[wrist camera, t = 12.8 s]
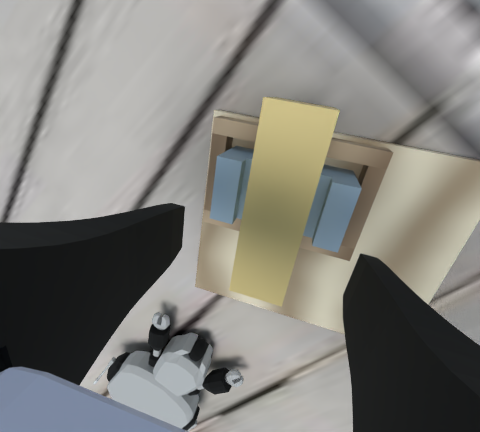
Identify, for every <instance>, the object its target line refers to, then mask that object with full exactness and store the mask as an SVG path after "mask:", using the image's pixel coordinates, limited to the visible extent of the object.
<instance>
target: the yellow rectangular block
mask: <svg viewBox="0 0 480 432" xmlns="http://www.w3.org/2000/svg"><path fill="white" fill-rule="evenodd" d="M339 112H340V110H338V109H336V108H333V107H328V106H322V105H316V104H311V103H305V102H300V101H294V100H288V99H283V98H276V97H263V102H262V107H261V113H260V118H259V124H258V130H257V135H256V141H255V147H254V152H253V158H252V164H251V169H250V175H249V180H248V186H247V192H246V197H245V203H244V209H243V214H242V220H241V225H240V231H239V237H238V242H237V248H236V254H235V259H234V265H233V271H232V276H231V282H230V287H229V290H230V291H233V292H236V293H239V294H243V295H246V296H249V297H252V298H255V299H258V300H262V301H265V302H268V303H271V304H274V305H278V306H281V307H282V304H283V300H284V297H285V294H286V290H287V287H288V284H289V280H290V277H291V274H292V270H293V267H294V263H295V260H296V257H297V253H298V250H299V247H300V243H301V240H302V236H303V233H304V230H305V226H306V223H307V220H308V216H309V213H310V210H311V206H312V203H313V199H314V196H315V193H316V189H317V186H318V183H319V179H320V176H321V172H322V169H323V166H324V162H325V159H326V156H327V152H328V149H329V146H330V142H331V139H332V135H333V132H334V129H335V125H336V122H337V119H338V115H339Z"/></svg>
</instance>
